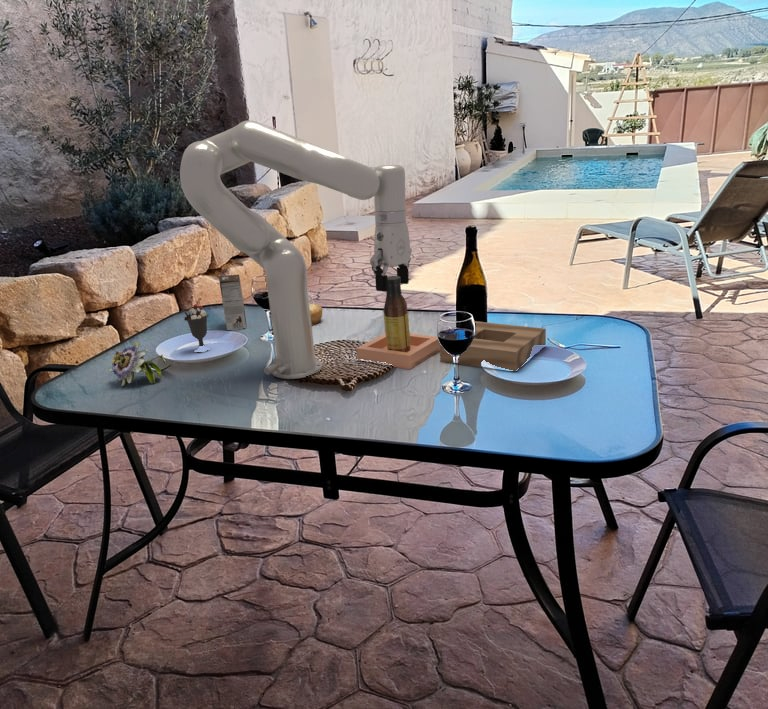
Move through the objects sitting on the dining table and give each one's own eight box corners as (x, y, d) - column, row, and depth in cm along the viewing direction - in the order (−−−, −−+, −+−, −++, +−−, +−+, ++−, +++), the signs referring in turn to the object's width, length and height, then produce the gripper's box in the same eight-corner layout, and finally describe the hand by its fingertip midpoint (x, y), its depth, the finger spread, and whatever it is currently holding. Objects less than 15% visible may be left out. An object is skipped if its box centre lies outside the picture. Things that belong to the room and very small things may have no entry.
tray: (410, 369, 152) (409, 355, 151) (357, 360, 161) (356, 348, 160) (441, 349, 165) (441, 337, 164) (390, 342, 173) (390, 330, 172)
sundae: (218, 346, 182) (209, 296, 177) (208, 353, 175) (199, 302, 171) (197, 346, 183) (188, 296, 178) (186, 354, 177) (177, 302, 172)
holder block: (515, 372, 145) (515, 352, 144) (440, 361, 156) (439, 342, 155) (545, 347, 161) (545, 328, 159) (475, 338, 172) (474, 321, 170)
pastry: (278, 325, 200) (275, 297, 197) (306, 316, 208) (303, 290, 205) (303, 330, 192) (300, 302, 189) (331, 320, 200) (328, 293, 197)
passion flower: (129, 405, 157) (96, 369, 155) (158, 382, 166) (126, 348, 164) (149, 387, 150) (114, 350, 149) (178, 364, 159) (145, 329, 157)
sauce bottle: (400, 346, 167) (395, 273, 160) (415, 351, 162) (411, 276, 156) (381, 352, 163) (375, 277, 156) (397, 357, 158) (392, 280, 152)
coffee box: (226, 324, 205) (218, 275, 199) (246, 321, 206) (239, 273, 201) (226, 331, 196) (218, 281, 191) (247, 328, 198) (240, 278, 192)
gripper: (383, 222, 143) (386, 295, 148) (421, 214, 156) (422, 282, 161) (357, 221, 147) (360, 292, 152) (396, 214, 160) (398, 279, 165)
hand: (392, 287), depth 157 cm, fingers open, 9 cm apart
